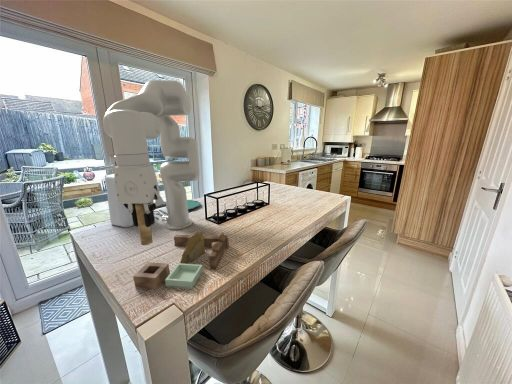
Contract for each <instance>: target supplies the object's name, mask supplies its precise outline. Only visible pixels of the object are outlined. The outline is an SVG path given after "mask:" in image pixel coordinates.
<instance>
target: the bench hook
mask: <svg viewBox="0 0 512 384" xmlns="http://www.w3.org/2000/svg"><path fill="white" fill-rule="evenodd" d="M193 235H194V234H193ZM193 235H192V234H175V235H174V236H173V242H174V246H175V247H186V245H187V243H188V239H189V238H191V237H192V236H193ZM203 236H204V248H210V249H211V252H210V254H209V255H208V260H209V261H208V262H209V270H214V271H215V270H217V269H218V266H219V265H220V263H221V260H222V258H223V256H224V254H225V252H226V251H227V249H229V247H230V245H229V244H230V242H229V241H230V240H229V239H230V237H229V236H228V235H227V234H225V233H224V232H219V233H218V234H217V236H215V235H214V236H213V235H212V236H211V235H203Z"/></svg>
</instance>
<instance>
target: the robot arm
mask: <svg viewBox="0 0 512 384" xmlns="http://www.w3.org/2000/svg"><path fill="white" fill-rule="evenodd" d="M191 105H192V104H191V101H190V98H189V96H188V94H187V91H186V88H185V86H183V85H182V83H181V82H179V81H177V80H163V79H162V80H161V79H160V80H159V79H156V80H155V79H153V80H148V81H147V82H145V84H144V85H143V87H142V88H141V89H140V91H139V93H138V94H134V95H132V96H130V97H127V98H124V99H120V100H119V101H115V102H114V103H113V104H112V105H110V107H109V108H108V109H107V110H106V112H105V114H104V116H103V119H102V127H103V130H104V133H105V134H106V135H107V136H108V137H109V138H111V139H112V144H113V150H114V154H115V155H114V156H113V158H112V159H113V161H114V162H116V165H117V166H114V170H115V171H114V173H113V174H114V180H115V190H116V196H117V200H118V203H120V204H122V205H124V206H125V207H126V208H127V209H128V211H129V213H131V214H132V219H133V224H134V226H133V227H138V220H137V214H136V208H135V204H143V205H144V208H145V212H146V213H145V214H144V218H145V224H146V227H150V226H153V225H154V224H155V223H156V222H155V220H156V218H154V216H155V214H154V213H155V212H153V211H156V208H157V207H158V206H160V205H162V204H164V199H163V198H162V196H161V195H160V194H161V193H160V188H159V187H160V186H159V182H158V179H157V175H156V172H155V169H154V168H155V167H154V166H153V164H151V161H150V153H149V149H148V141H147V140H155V139H157V138H159V139H160V150H161V154H162V156H163V157H164V158H166V159H187V160H174V161H172V160H170V161H166V162H163V163H162V164H161V165H160V167H159V175H160V178H161V181H162V185H163V189H164V195H165V197H164V198H165V201H166V202H165V204H166V207H167V208H166V210H167V212H166V213H167V214H168V215H164V216H161V222H166V223H165V228H166V229H168V230H173V231H178V230H183V229H186V228H189V227H191V226H192V225H193V219H192V218H190V217H189V210H188V205H187V200H188V199H187V198H188V197H187V196H188V195H187V191H186V190H187V189H186V188H185V186H184V185H183V184H182V183H181V182H195V181H197V180H199V178H200V160H199V151H198V150H199V149H198V143H197V141H196V139H195V138H193V137H190V136H183V137H182V136H181V134H180V132H181V131H180V126H179V123H178V122H177V121H176V120H175V119H174V118H173V116H174V117H175V116H182V117H183V116H188V115H189V114H190V113H191V108H192V106H191ZM154 201H155V202H154Z"/></svg>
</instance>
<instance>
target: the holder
mask: <svg viewBox="0 0 512 384" xmlns="http://www.w3.org/2000/svg"><path fill="white" fill-rule="evenodd" d="M170 273H171V271H170V266H169V263H166V262H165V263H164V262H152V261H151V262H146V264H144V265H143V266H142V267H141V268H140V269H139V270H138V271H137V272H135V274H134V275H133V281H134V287H135V289H143V290H155V291H156V290H157V291H158V290H159V289H160V287H162V285H163V283H164V282H165V279H166V278H167V277H168V276H169V274H170Z"/></svg>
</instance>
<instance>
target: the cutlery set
mask: <svg viewBox="0 0 512 384" xmlns="http://www.w3.org/2000/svg"><path fill="white" fill-rule="evenodd" d="M187 205H188V211H189V210H190V211H191V210H195V209H196V208H198V207H201V205H202V203H201V202H200V201H197V200H194V199H187ZM165 209H167V206H166V207H165ZM158 210H159V211H158ZM158 210H154V211H153V212H154V218H155V220H158V221H159V219H160V218H159V217H157V216H155V215H158V216H160V217H162V216H165V215H166V216H168V212H166V211H164V210H162V209H158ZM160 212H161V213H163V214H164V215H163V214H161V213H160Z"/></svg>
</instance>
